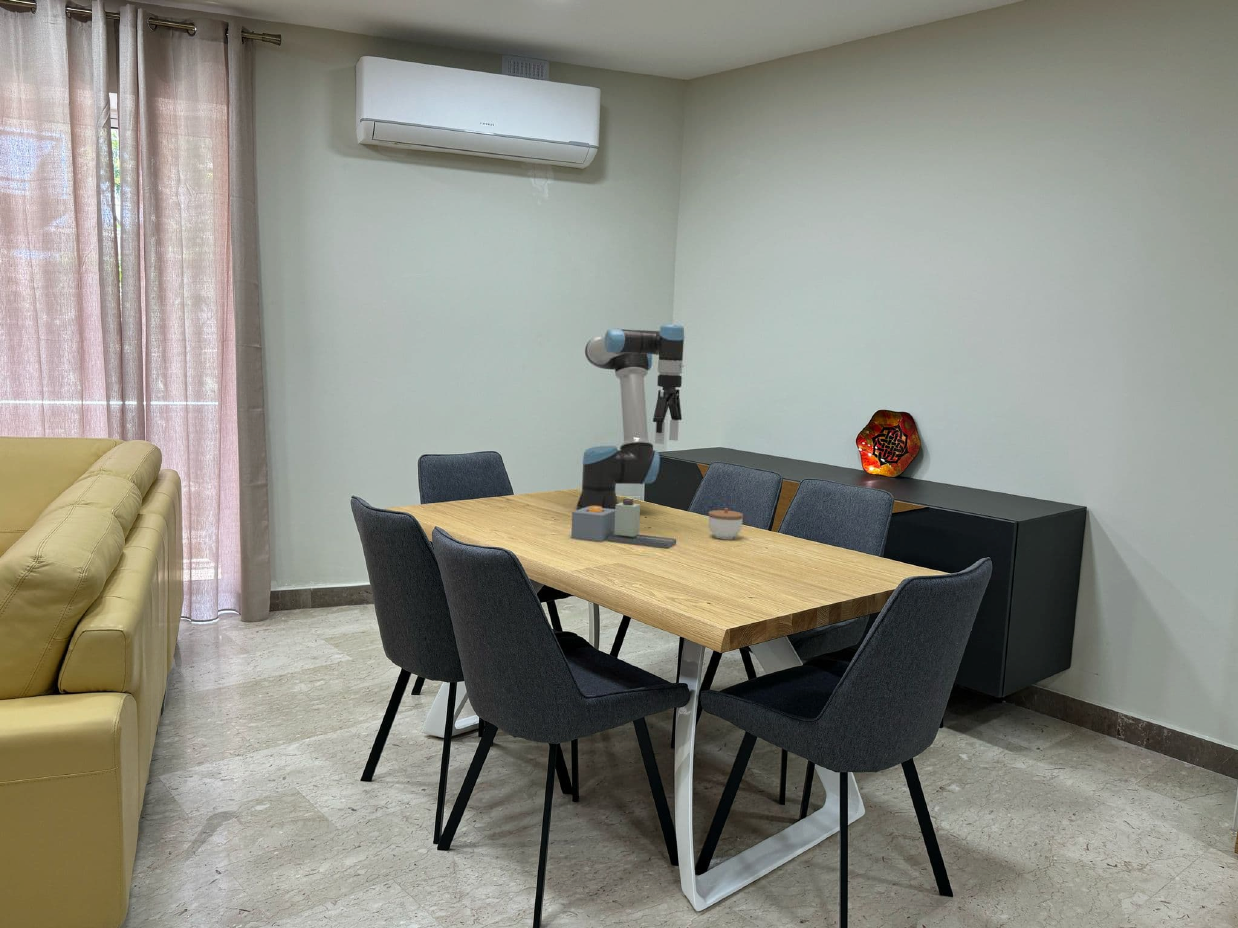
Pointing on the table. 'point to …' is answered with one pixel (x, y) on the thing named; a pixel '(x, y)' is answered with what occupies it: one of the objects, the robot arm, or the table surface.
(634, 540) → the rail board
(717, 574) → the table surface
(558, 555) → the table surface
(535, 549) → the table surface
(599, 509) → the button
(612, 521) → the grey block
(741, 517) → the lidded jar
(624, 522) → the carriage
